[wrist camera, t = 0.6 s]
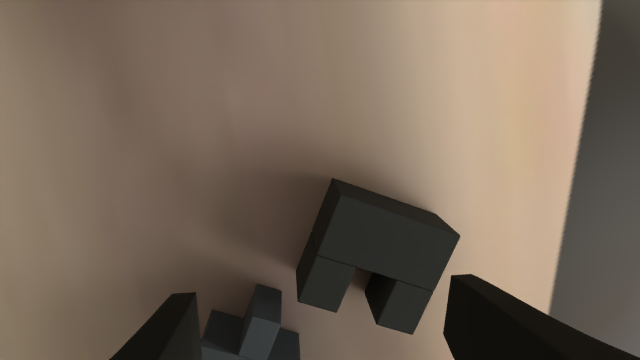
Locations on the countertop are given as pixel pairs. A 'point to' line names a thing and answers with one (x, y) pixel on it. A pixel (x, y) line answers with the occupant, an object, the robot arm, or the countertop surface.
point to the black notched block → (374, 254)
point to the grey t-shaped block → (251, 332)
